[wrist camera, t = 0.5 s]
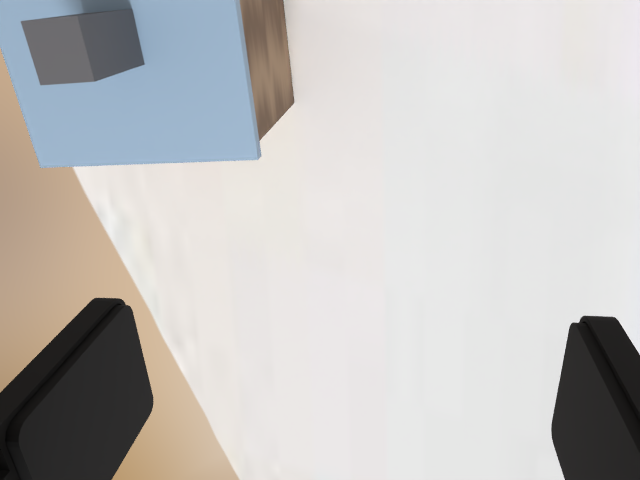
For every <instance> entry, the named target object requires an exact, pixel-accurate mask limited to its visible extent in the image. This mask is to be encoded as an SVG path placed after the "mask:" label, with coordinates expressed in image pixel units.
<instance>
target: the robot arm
mask: <svg viewBox="0 0 640 480" xmlns="http://www.w3.org/2000/svg"><path fill="white" fill-rule="evenodd" d="M152 408H153V395H152V390H151V386H150V382H149V378H148V374H147V369H146V365H145V361H144V357H143V353H142V349H141V344H140V340H139V336H138V332H137V328H136V324H135V319H134V315H133V311H132V309H131V307H130V306H128V305H125V302H124V301H123V300H122V299H116V298H94V299H93V300H92V301H91V302H90V303H89V304H88V305H87V306H86V307H85V308H84V309H83V310H82V311H81V312H80V313H79V314H78V315H77V316H76V317H75V318H74V319H73V320H72V321H71V322H70V323H69V324H68V325H67V326H66V327H65V328H64V329H63V330H62V331H61V332H60V333H59V334H58V335H57V336H56V337H55V338H54V339H53V340H52V341H51V342H50V343H49V344H48V345H47V346H46V347H45V348H44V349H43V350H42V351H41V352H40V353H39V354H38V355H37V356H36V357H35V358H34V359H33V360H32V361H31V362H30V363H29V364H28V365H27V366H26V367H25V368H24V369H23V370H22V371H21V372H20V373H19V374H18V375H17V376H16V377H15V378H14V380H13V381H11V382H10V383H9V385H7V386H6V388H4V389H3V391H2V392H1V393H0V480H111V479H112V478H113V476H114V475H115V473H116V471H117V470H118V468H119V466H120V464H121V463H122V461H123V459H124V458H125V456H126V454H127V453H128V451H129V449H130V447H131V446H132V444H133V443H134V441H135V439H136V437H137V436H138V434H139V432H140V431H141V429H142V427H143V426H144V424H145V422H146V421H147V419H148V417H149V415H150V413H151V411H152ZM552 440H553V444H554V447H555V450H556V453H557V456H558V460H559V463H560V466H561V469H562V472H563V475H564V478H565V480H640V355H639V353H638V351H637V350H636V348H635V347H634V345H633V344H632V342H631V340H630V339H629V337H628V336H627V334H626V332H625V331H624V329H623V328H622V326H621V324H620V323H619V321H618V320H617V319H616V318H615V317H602V316H583V317H582V318H581V319H580V322H579V323H572V324H571V325H570V328H569V333H568V339H567V344H566V349H565V355H564V360H563V366H562V371H561V377H560V382H559V387H558V393H557V398H556V404H555V409H554V414H553V420H552Z"/></svg>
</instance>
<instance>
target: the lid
mask: <svg viewBox="0 0 640 480" xmlns="http://www.w3.org/2000/svg"><path fill="white" fill-rule="evenodd" d="M0 48H1V51H2V54H3V57H4V60H5V63H6V65H7V68H8V72H9V75H10V78H11V81H12V84H13V87H14V90H15V93H16V96H17V98H18V102H19V105H20V108H21V111H22V114H23V117H24V120H25V122H26V126H27V129H28V131H29V134H30V137H31V141H32V144H33V146H34V150H35V153H36V155H37V158H38V162H39V164H40V168H47V167H74V166H102V165H129V164H156V163H183V162H210V161H237V160H258V159H259V158H260V157H261V150H260V142H259V135H258V128H257V121H256V114H255V107H254V100H253V93H252V86H251V79H250V71H249V64H248V57H247V50H246V43H245V36H244V29H243V22H242V15H241V8H240V0H0Z"/></svg>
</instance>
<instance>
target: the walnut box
mask: <svg viewBox="0 0 640 480" xmlns="http://www.w3.org/2000/svg"><path fill="white" fill-rule="evenodd" d="M240 8H241V15H242V22H243V29H244V36H245V43H246V50H247V57H248V64H249V71H250V79H251V86H252V93H253V100H254V107H255V114H256V121H257V128H258V135H259V141H260V140H261V139H262V137H263V136H264V135H265V134H266V133H267V132H268V131H269V130H270V129H271V128H272V127H273V125H274V124H275V123H276V122H277V121H278V120H279V119H280V118H281V117H282V116H283V115H284V113H285V112H286V111H287V110H288V109H289V108H290V107H291V106H292V105H293V104H294V97H293V88H292V78H291V69H290V60H289V51H288V41H287V32H286V23H285V13H284V4H283V0H240Z"/></svg>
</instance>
